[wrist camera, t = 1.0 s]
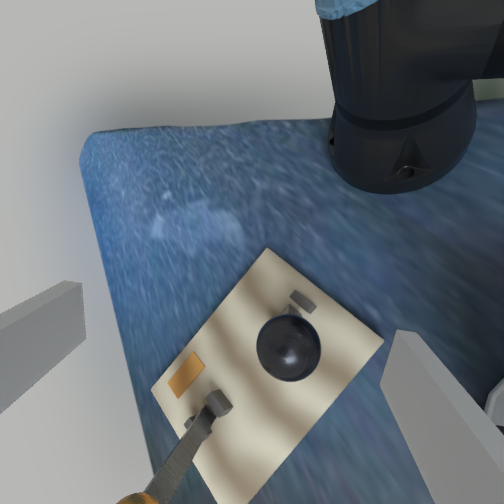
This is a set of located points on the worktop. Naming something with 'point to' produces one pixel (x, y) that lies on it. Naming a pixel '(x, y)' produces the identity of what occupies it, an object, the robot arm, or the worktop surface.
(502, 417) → the bottle
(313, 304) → the switch board
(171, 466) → the orange knob lever
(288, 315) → the black knob lever
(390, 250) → the worktop surface
